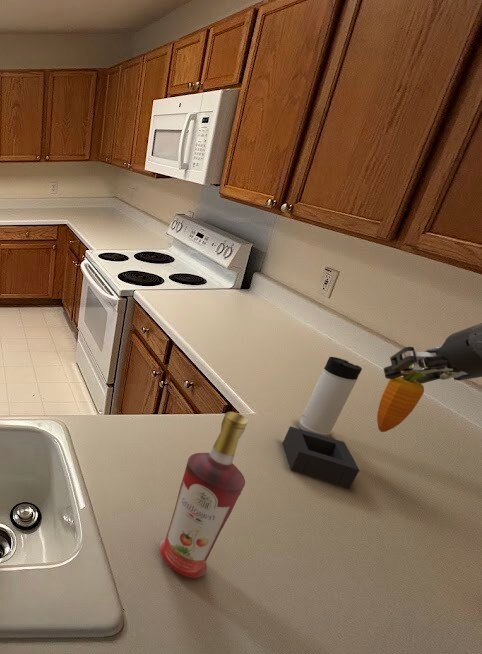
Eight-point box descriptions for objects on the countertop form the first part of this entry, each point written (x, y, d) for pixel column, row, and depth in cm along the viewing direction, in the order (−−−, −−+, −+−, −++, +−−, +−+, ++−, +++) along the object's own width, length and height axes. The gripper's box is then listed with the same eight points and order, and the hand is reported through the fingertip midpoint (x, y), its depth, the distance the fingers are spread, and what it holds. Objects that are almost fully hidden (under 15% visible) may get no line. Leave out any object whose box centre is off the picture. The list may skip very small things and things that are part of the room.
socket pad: (335, 459, 93) (344, 441, 91) (349, 489, 84) (359, 470, 83) (282, 443, 97) (290, 426, 95) (290, 470, 88) (299, 451, 87)
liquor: (212, 564, 66) (274, 420, 55) (195, 594, 61) (260, 443, 50) (167, 534, 70) (216, 396, 60) (148, 559, 66) (198, 414, 55)
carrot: (358, 425, 80) (394, 357, 75) (373, 422, 82) (409, 355, 77) (389, 441, 76) (429, 370, 71) (404, 437, 78) (444, 367, 73)
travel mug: (291, 424, 105) (322, 355, 97) (309, 421, 107) (341, 353, 99) (316, 440, 99) (351, 368, 92) (334, 436, 101) (370, 366, 94)
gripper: (548, 329, 62) (439, 363, 77) (440, 315, 64) (355, 351, 79) (567, 376, 59) (450, 402, 74) (453, 361, 61) (362, 389, 76)
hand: (401, 375), depth 77 cm, fingers closed on carrot, 4 cm apart
